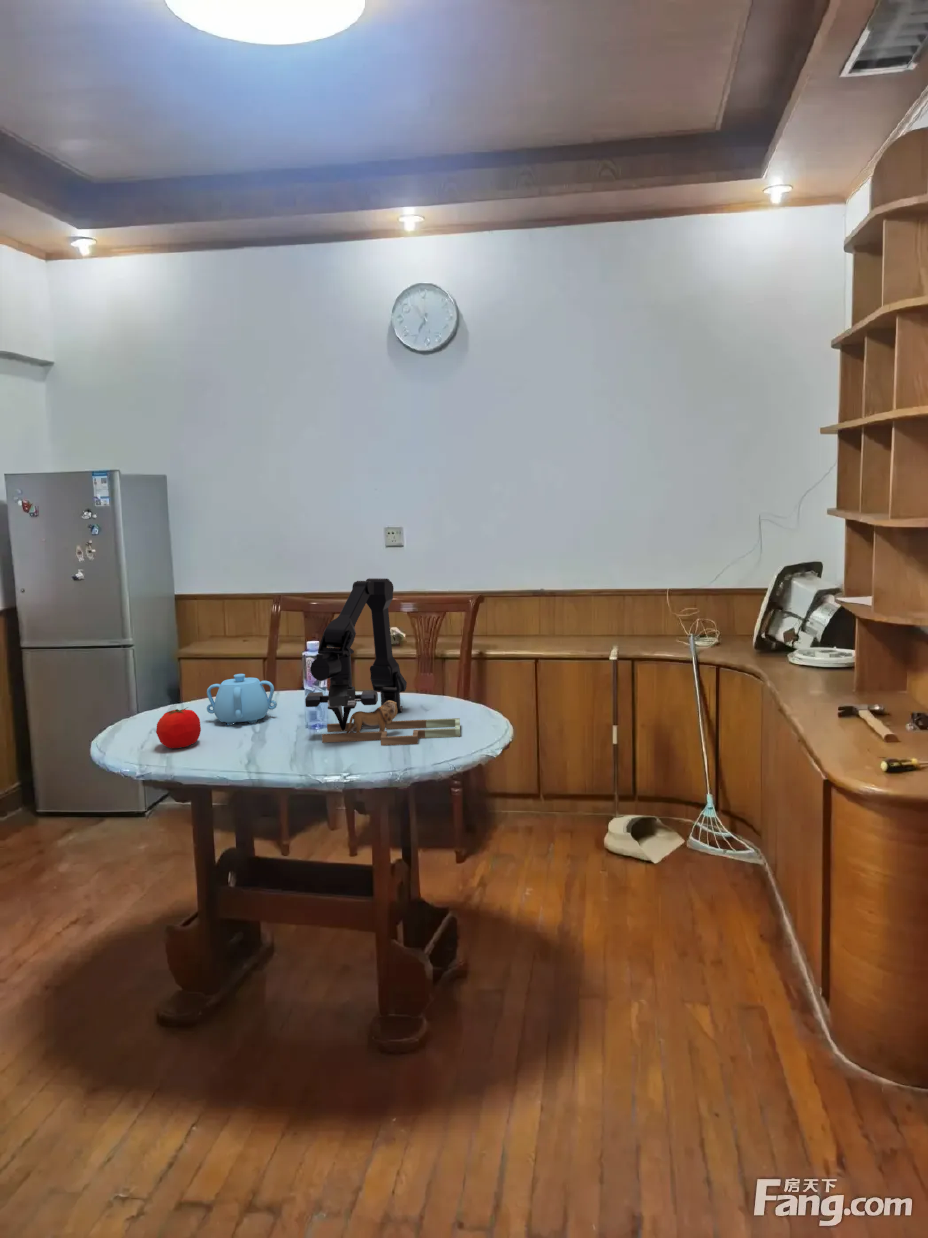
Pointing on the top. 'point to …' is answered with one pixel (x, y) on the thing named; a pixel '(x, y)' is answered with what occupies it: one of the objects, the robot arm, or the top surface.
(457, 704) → the top surface
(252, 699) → the decorative pot
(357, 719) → the lion figurine
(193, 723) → the tomato
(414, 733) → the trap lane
